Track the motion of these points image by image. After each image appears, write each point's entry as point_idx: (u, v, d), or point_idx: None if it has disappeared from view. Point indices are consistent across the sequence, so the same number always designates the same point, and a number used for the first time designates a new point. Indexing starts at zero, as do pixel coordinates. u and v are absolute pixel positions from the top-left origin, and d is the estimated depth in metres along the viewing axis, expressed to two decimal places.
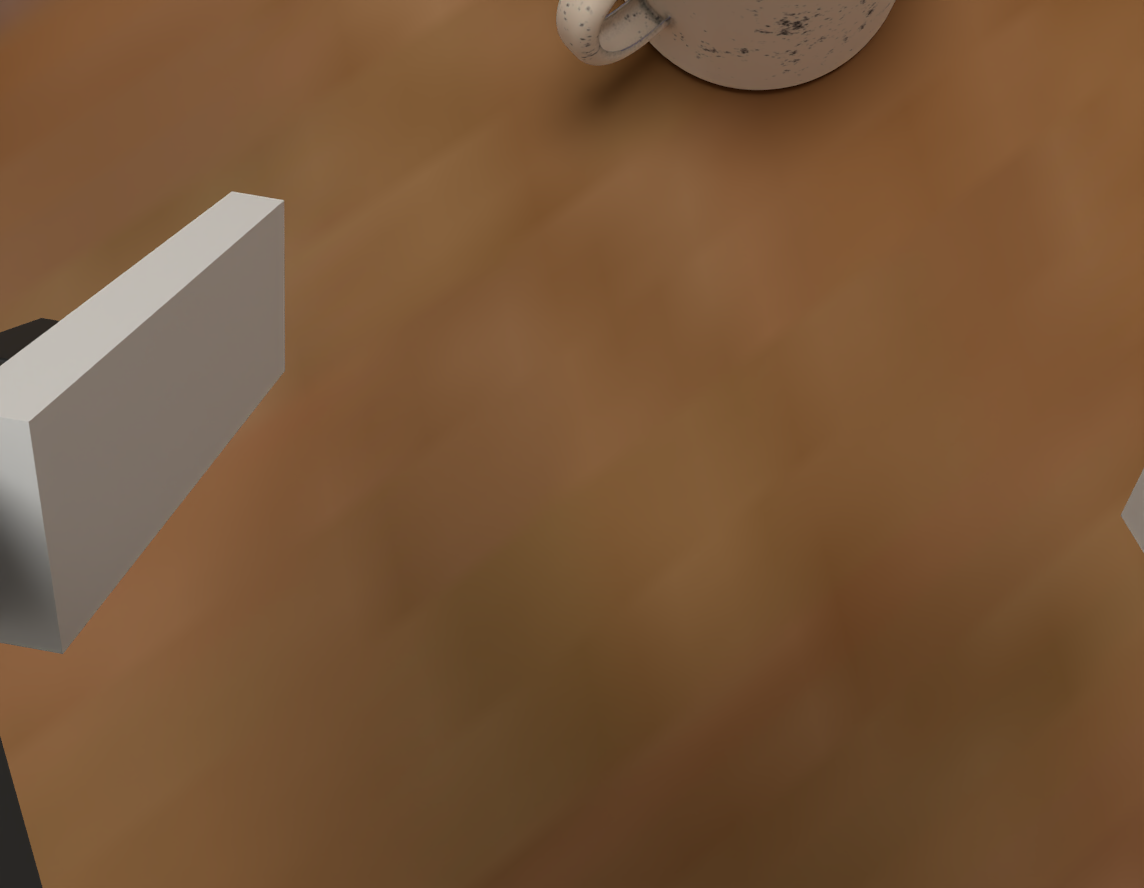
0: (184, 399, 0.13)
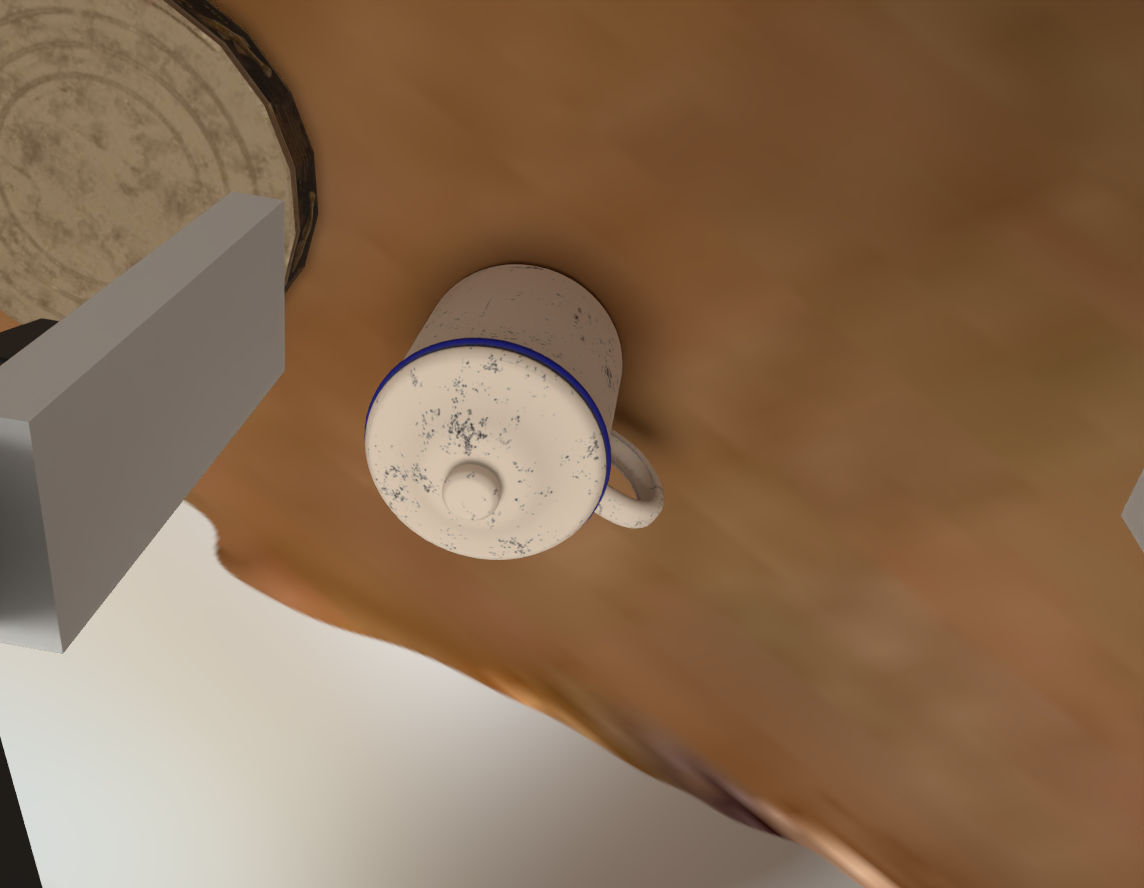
0: (184, 399, 0.13)
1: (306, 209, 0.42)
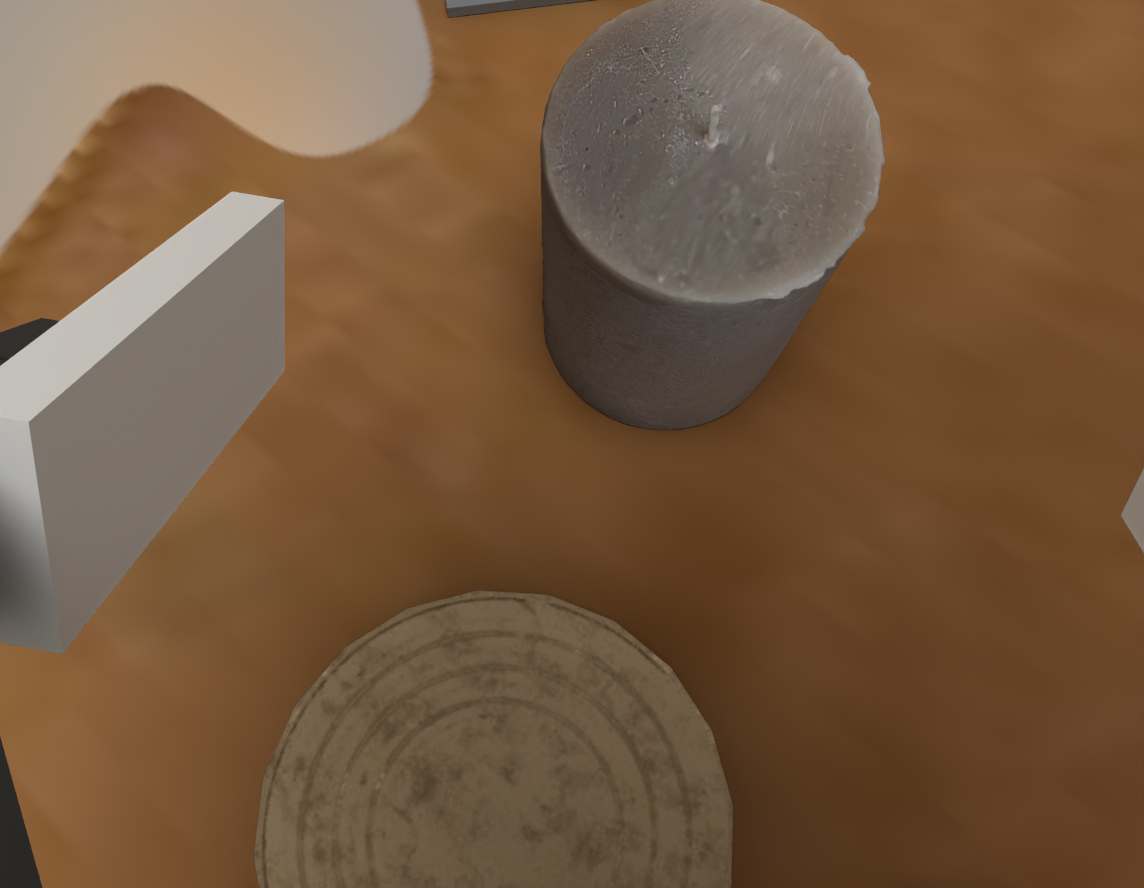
0: (184, 399, 0.13)
1: None
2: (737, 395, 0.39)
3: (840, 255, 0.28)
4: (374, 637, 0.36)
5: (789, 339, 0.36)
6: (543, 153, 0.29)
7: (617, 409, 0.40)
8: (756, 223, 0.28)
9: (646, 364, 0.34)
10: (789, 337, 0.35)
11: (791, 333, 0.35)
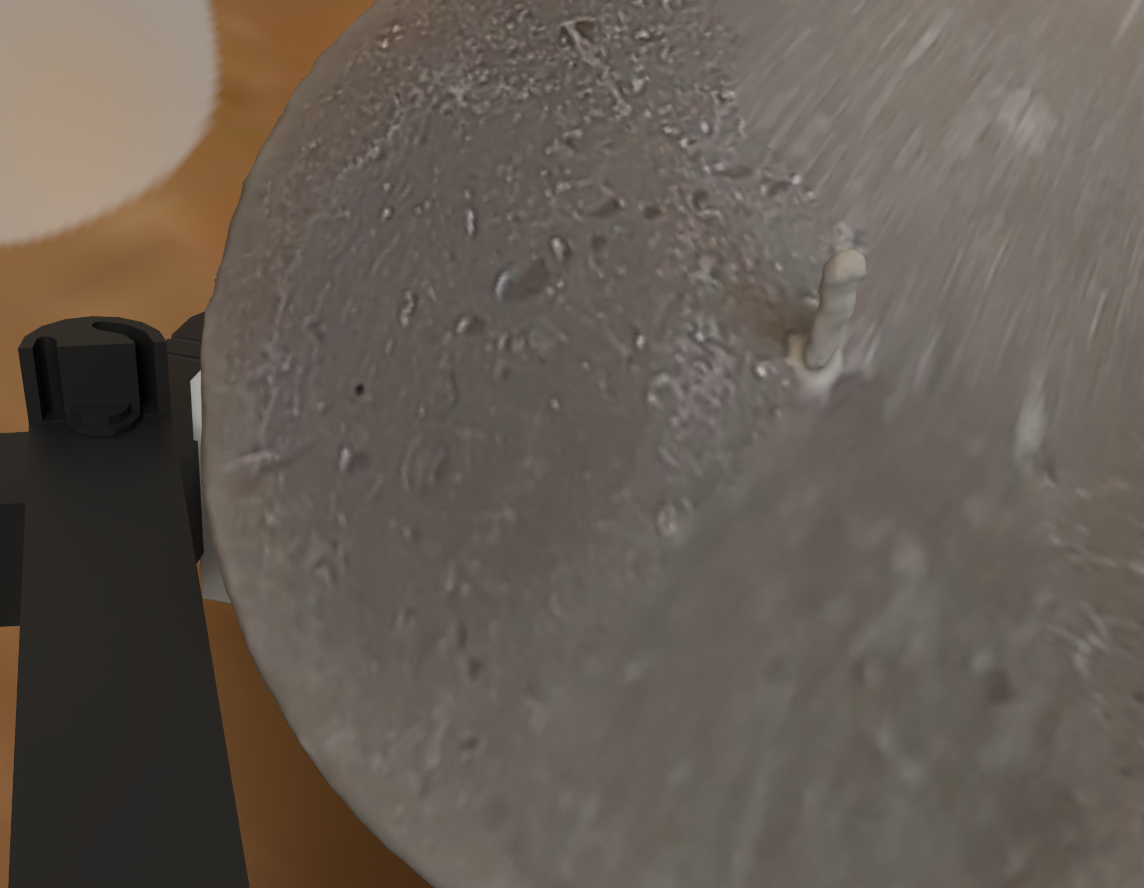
0: None
1: None
2: None
3: None
4: None
5: None
6: (202, 402, 0.08)
7: None
8: (995, 693, 0.07)
9: None
10: None
11: None
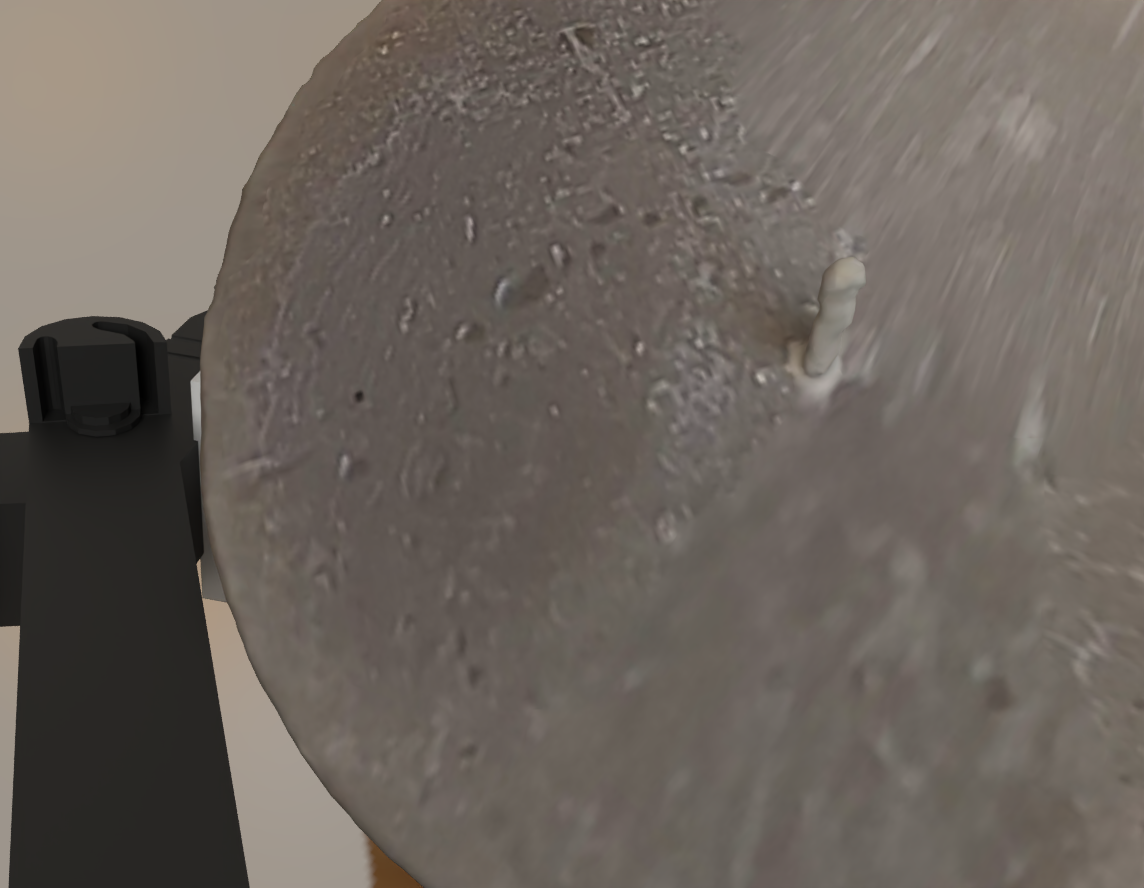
0: None
1: None
2: None
3: None
4: None
5: None
6: (201, 409, 0.08)
7: None
8: (995, 701, 0.07)
9: None
10: None
11: None
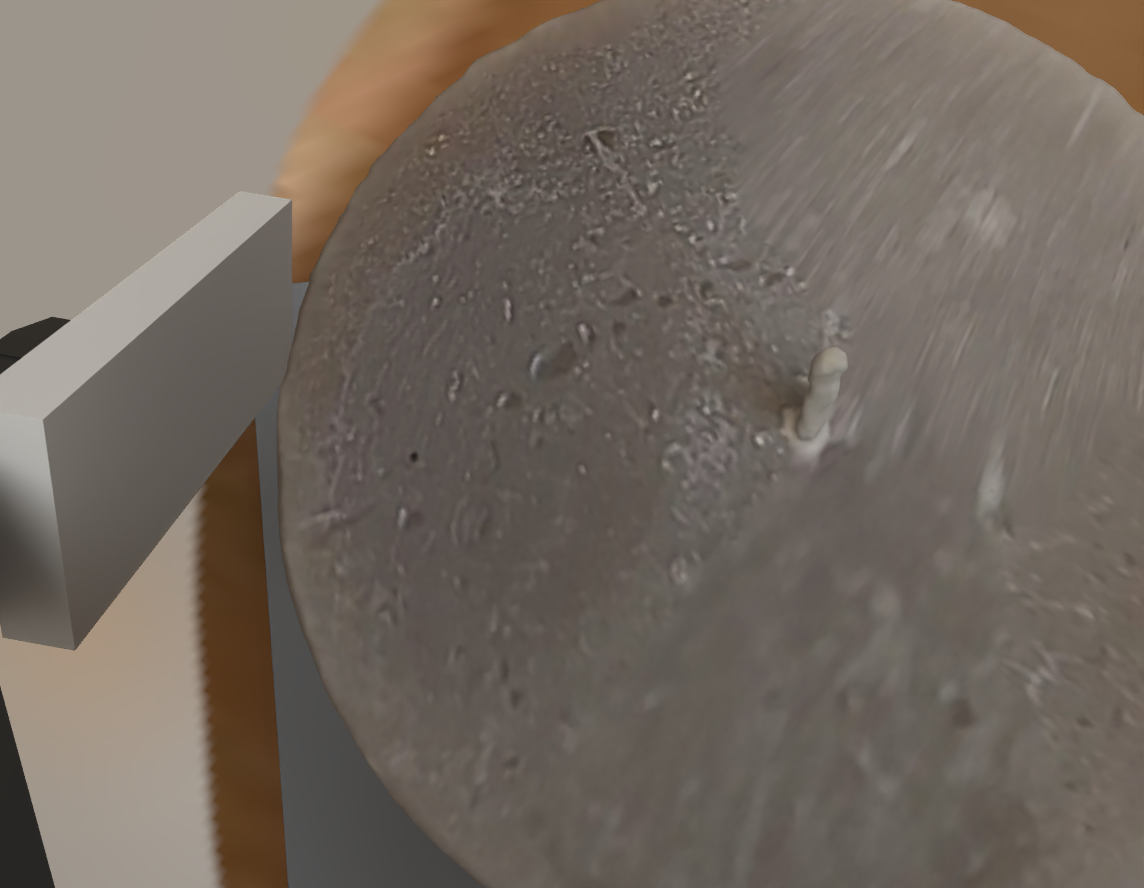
0: (194, 398, 0.13)
1: None
2: None
3: None
4: None
5: None
6: (278, 468, 0.09)
7: None
8: (959, 718, 0.09)
9: None
10: None
11: None
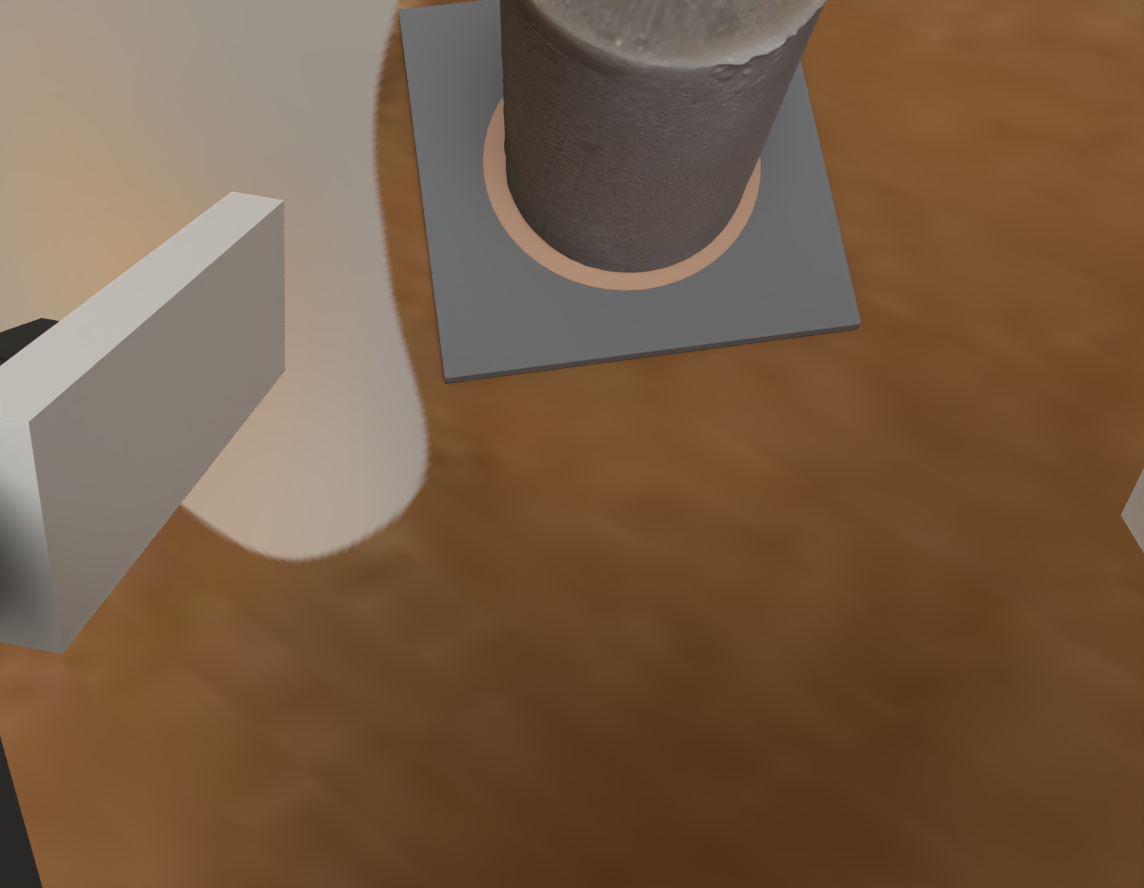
0: (184, 399, 0.13)
1: None
2: (701, 228, 0.38)
3: (802, 24, 0.28)
4: None
5: (753, 159, 0.36)
6: None
7: (579, 245, 0.39)
8: None
9: (606, 170, 0.33)
10: (752, 153, 0.35)
11: (754, 145, 0.34)
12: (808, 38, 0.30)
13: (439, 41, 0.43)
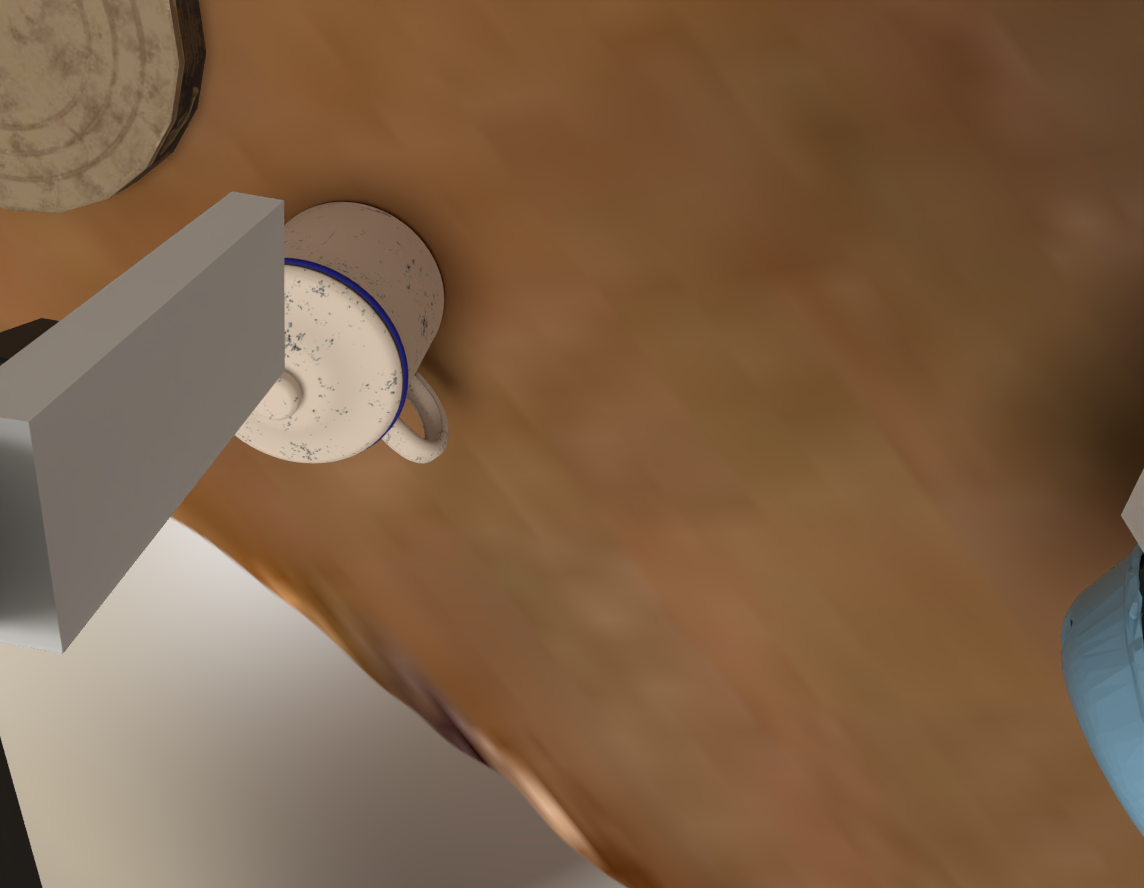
0: (184, 399, 0.13)
1: (186, 102, 0.45)
2: None
3: None
4: None
5: None
6: None
7: None
8: None
9: None
10: None
11: None
12: None
13: None
